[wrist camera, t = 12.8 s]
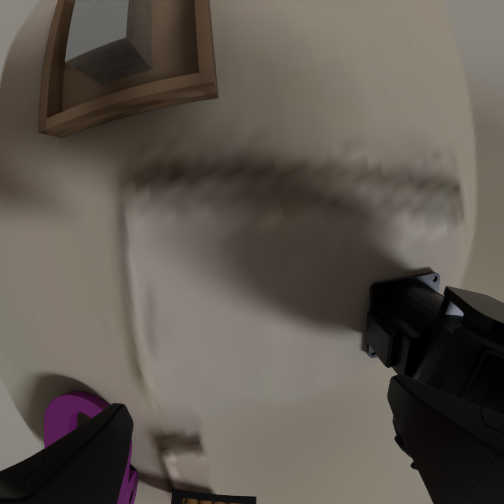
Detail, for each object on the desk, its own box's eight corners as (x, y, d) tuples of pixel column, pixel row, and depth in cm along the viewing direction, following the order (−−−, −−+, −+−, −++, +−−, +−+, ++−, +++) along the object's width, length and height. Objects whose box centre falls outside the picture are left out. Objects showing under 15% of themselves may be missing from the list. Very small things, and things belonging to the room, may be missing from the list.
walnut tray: (207, -30, 14) (203, -51, 11) (218, 97, 17) (214, 82, 14) (73, 10, 14) (59, -4, 11) (60, 137, 17) (38, 132, 14)
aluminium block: (152, 69, 15) (126, 37, 10) (100, 85, 15) (64, 61, 10) (152, -7, 14) (134, -43, 9) (106, 8, 14) (81, -22, 9)
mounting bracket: (80, 368, 28) (74, 476, 23) (46, 380, 20) (49, 502, 15) (151, 394, 29) (136, 500, 24) (132, 417, 20) (122, 534, 16)
